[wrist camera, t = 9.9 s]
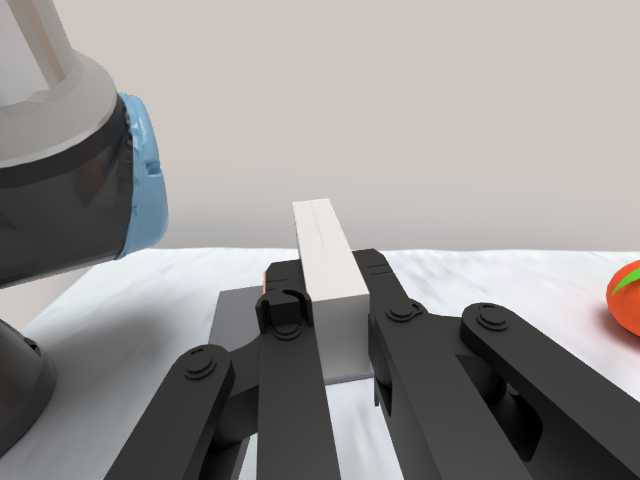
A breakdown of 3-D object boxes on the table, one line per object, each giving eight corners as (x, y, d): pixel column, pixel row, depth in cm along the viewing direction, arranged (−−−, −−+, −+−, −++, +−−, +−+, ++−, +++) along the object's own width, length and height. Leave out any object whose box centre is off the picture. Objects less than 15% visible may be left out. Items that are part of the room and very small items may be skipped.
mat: (195, 406, 27) (194, 402, 26) (220, 294, 40) (220, 291, 40) (441, 365, 28) (441, 361, 28) (386, 271, 41) (386, 267, 41)
